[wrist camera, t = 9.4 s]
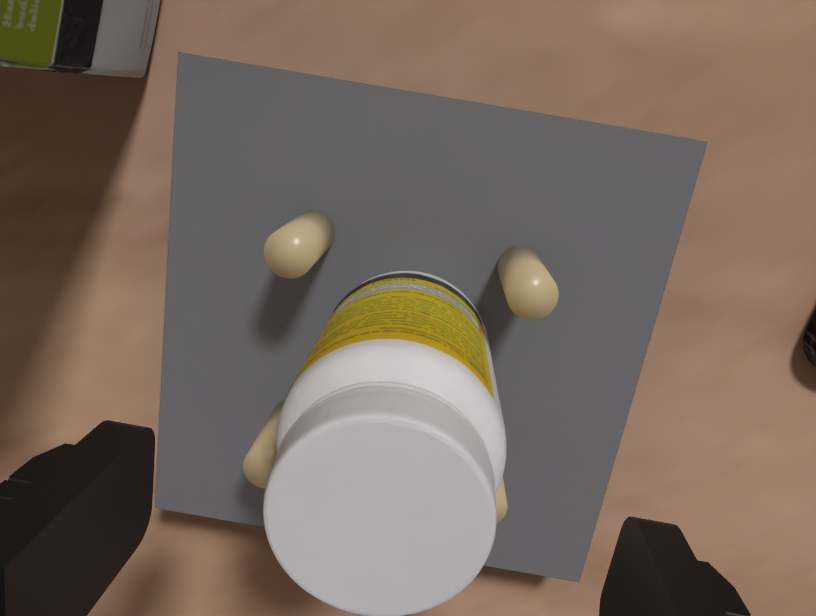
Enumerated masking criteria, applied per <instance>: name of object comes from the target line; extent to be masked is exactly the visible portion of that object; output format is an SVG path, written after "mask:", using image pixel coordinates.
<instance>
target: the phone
mask: <svg viewBox="0 0 816 616" xmlns="http://www.w3.org/2000/svg"><path fill="white" fill-rule="evenodd" d="M804 351H805V353H806V356H807V358H808V360H809V361H810V362H811V363H812V364H813V365H814V366H815V367H816V310H815V312H814V314H813V316H812V318H811V321H810V323H809V325H808V327H807V329H806V332H805V336H804Z"/></svg>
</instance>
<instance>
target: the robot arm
mask: <svg viewBox="0 0 816 616" xmlns="http://www.w3.org/2000/svg"><path fill="white" fill-rule="evenodd" d="M154 454H155V435H154V432H153V430H152V429H151V428H147V427H142V426H136V425H131V424H125V423H120V422H114V421H109V420H106V421H103V422H102V423H100V424H99V425H98V426H97V427H96V428H94V429H93V430H92V431H91V432H90V433H89V434H87V435H86V436H85V437H84V438H83V439H82V440H80V441H79V442H78V443H77V444H76V445H71V444H63V445H61V446H58V447H56V448H54V449H51V450H49V451H47V452H44V453H42V454H40V455H37V456H35V457H33V458H32V459H30V460H29V461H28V462H27V463H25V464H24V465H23V466H22V467H20V468H19V469H18V470H17V471H15V472H14V473H13V474H12V475H10V476H9V480H8V481H7V480H4V481H3V482H2V483H0V616H87V615H88V613H89V612H90V611H91V609H92V608H93V606H94V605H95V604H96V602H97V601H98V600H99V598H100V597H101V596H102V594H103V593H104V592H105V590H106V589H107V588H108V586H109V585H110V584H111V582H112V581H113V580H114V578H115V577H116V576H117V574H118V573H119V571H120V570H121V569H122V567H123V566H124V565H125V563H126V562H127V561H128V559H129V558H130V557H131V555H132V554H133V553H134V551H135V550H136V549H137V547H138V546H139V544H140V542H141V541H142V539H143V537H144V535H145V532H146V530H147V527H148V524H149V520H150V516H151V510H152V495H153V474H154ZM750 615H751V614H750V613H749V611H748V609H747V608H746V606H745V604H744V603H743V601H742V599H741V598H740V596H739V594H738V593H737V591H736V589H735V588H734V587H733V586H732V585H731V584H730V583H729V582H728V581H727V580H726V579H725V578H724V577H723V576H722V575H721V574H720V573H719V572H718V571H717V570H716V569H714V568H713V567H712V566H711V565H710V564H709V563H708V562H703V561H697V559H696V557H695V555H694V554H693V552H692V550H691V548H690V546H689V544H688V543H687V541H686V539H685V537H684V535H683V533H682V532H681V530H680V528H679V527H678V526H677V525H674V524H669V523H663V522H658V521H652V520H647V519H641V518H636V517H628V518H627V519H626V520H625V522H624V523H623V525H622V528H621V531H620V534H619V538H618V541H617V544H616V547H615V551H614V554H613V557H612V561H611V564H610V567H609V570H608V574H607V577H606V580H605V584H604V587H603V590H602V594H601V599H600V610H599V616H750Z"/></svg>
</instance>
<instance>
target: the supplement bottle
mask: <svg viewBox="0 0 816 616" xmlns="http://www.w3.org/2000/svg"><path fill="white" fill-rule="evenodd" d="M276 451H277V455H276V458H275V463H274V465H273V468H272V471H271V473H270V476H269V479H268V481H267V485H266V489H265V493H264V501H263V521H264V527H265V531H266V535H267V539H268V542H269V544H270V546H271V549H272V551H273V553H274V555H275V557H276V559H277V561H278V562H279V563H280V565H281V566H282V568H283V569H284V570H285V572H286V573H287V574H288V575H289V576H290V577H291V578H292V579H293V580H294V581H295V582H296V583H297V584H298V585H299V586H300V587H301V588H303V589H304V590H305V591H307V592H308V593H309V594H311V595H312V596H314V597H316V598H318V599H319V600H321V601H323V602H325V603H327V604H329V605H331V606H333V607H336V608H338V609H341V610H345V611H348V612H351V613H355V614H359V615H365V616H404V615H408V614H415V613H418V612H421V611H425V610H428V609H430V608H433V607H435V606H437V605H440V604H442V603H443V602H445V601H447V600H449V599H451V598H452V597H454V596H455V595H457V594H458V593H459V592H461V591H462V590H463V589H464V588H465V587H466V586H467V585H468V584H469V583H471V582H472V581H473V579H474V578H475V577H476V576H477V575H478V573H479V572H480V570H481V569H482V567H483V565H484V564H485V562H486V560H487V558H488V556H489V554H490V551H491V549H492V546H493V542H494V538H495V533H496V523H497V510H496V497H495V495H496V493H497V491H498V488H499V486H500V483H501V481H502V477H503V473H504V468H505V462H506V432H505V425H504V420H503V415H502V410H501V405H500V400H499V395H498V390H497V384H496V379H495V374H494V368H493V363H492V357H491V350H490V344H489V341H488V336H487V332H486V328H485V325H484V323H483V321H482V318H481V316H480V315H479V313H478V311H477V310H476V308H475V307H474V305H473V304H472V303H471V301H470V300H469V299H468V298H467V297H466V296H465V295H464V294H463V293H462V292H461V291H460V290H459V289H458V288H456V287H455V286H454V285H452V284H451V283H449V282H447V281H445V280H444V279H441V278H439V277H437V276H434V275H431V274H428V273H423V272H418V271H394V272H388V273H384V274H380V275H377V276H375V277H372V278H370V279H368V280H366V281H364V282H362V283H361V284H359V285H358V286H356V287H355V288H354V289H353V290H351V291H350V292H349V293H348V294H347V295H346V296H345V297H344V298H343V299H342V300H341V301H340V302H339V304H338V305H337V307H336V308H335V310H334V311H333V313H332V315H331V317H330V319H329V321H328V322H327V324H326V326H325V328H324V330H323V331H322V333H321V335H320V336H319V338H318V340H317V342H316V344H315V346H314V347H313V349H312V351H311V353H310V354H309V356H308V358H307V360H306V362H305V363H304V365H303V367H302V369H301V371H300V372H299V374H298V376H297V378H296V380H295V381H294V383H293V384H292V386H291V388H290V390H289V392H288V394H287V397H286V399H285V401H284V404H283V407H282V409H281V412H280V416H279V420H278V424H277V431H276Z"/></svg>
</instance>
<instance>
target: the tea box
mask: <svg viewBox="0 0 816 616" xmlns="http://www.w3.org/2000/svg"><path fill="white" fill-rule="evenodd" d="M159 5H160V0H0V66H1V67H14V68H26V69H37V70H43V71H53V72H55V71H59V72H62V73H63V72H72V73H85V74H94V75H104V76H115V77H131V78H142V77H143V76H144V75H145V72H146V69H147V64H148V60H149V56H150V51H151V47H152V42H153V37H154V32H155V27H156V21H157V16H158V10H159Z"/></svg>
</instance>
